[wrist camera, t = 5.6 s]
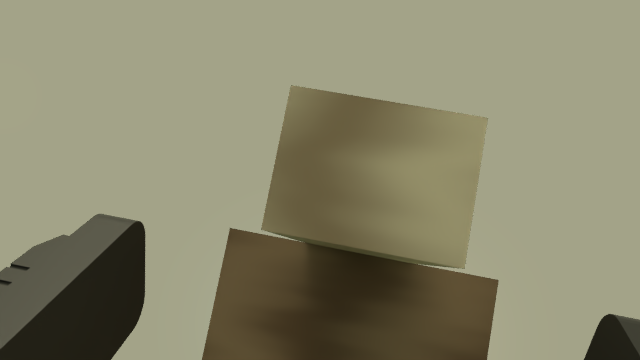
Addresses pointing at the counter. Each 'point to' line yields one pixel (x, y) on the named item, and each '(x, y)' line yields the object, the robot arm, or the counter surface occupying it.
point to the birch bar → (376, 177)
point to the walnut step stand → (342, 306)
